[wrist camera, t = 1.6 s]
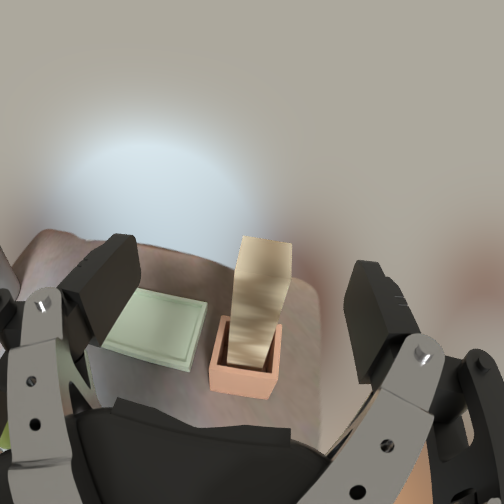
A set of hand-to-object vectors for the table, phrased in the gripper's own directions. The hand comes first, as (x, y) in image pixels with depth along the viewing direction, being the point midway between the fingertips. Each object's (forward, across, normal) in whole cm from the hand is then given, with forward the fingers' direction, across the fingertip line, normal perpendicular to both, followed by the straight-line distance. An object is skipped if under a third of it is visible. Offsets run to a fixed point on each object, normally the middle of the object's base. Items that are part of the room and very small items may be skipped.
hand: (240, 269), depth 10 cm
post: (+14, 0, +25) cm, 29 cm away
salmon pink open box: (+14, 0, +26) cm, 29 cm away
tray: (+18, +14, +24) cm, 33 cm away
